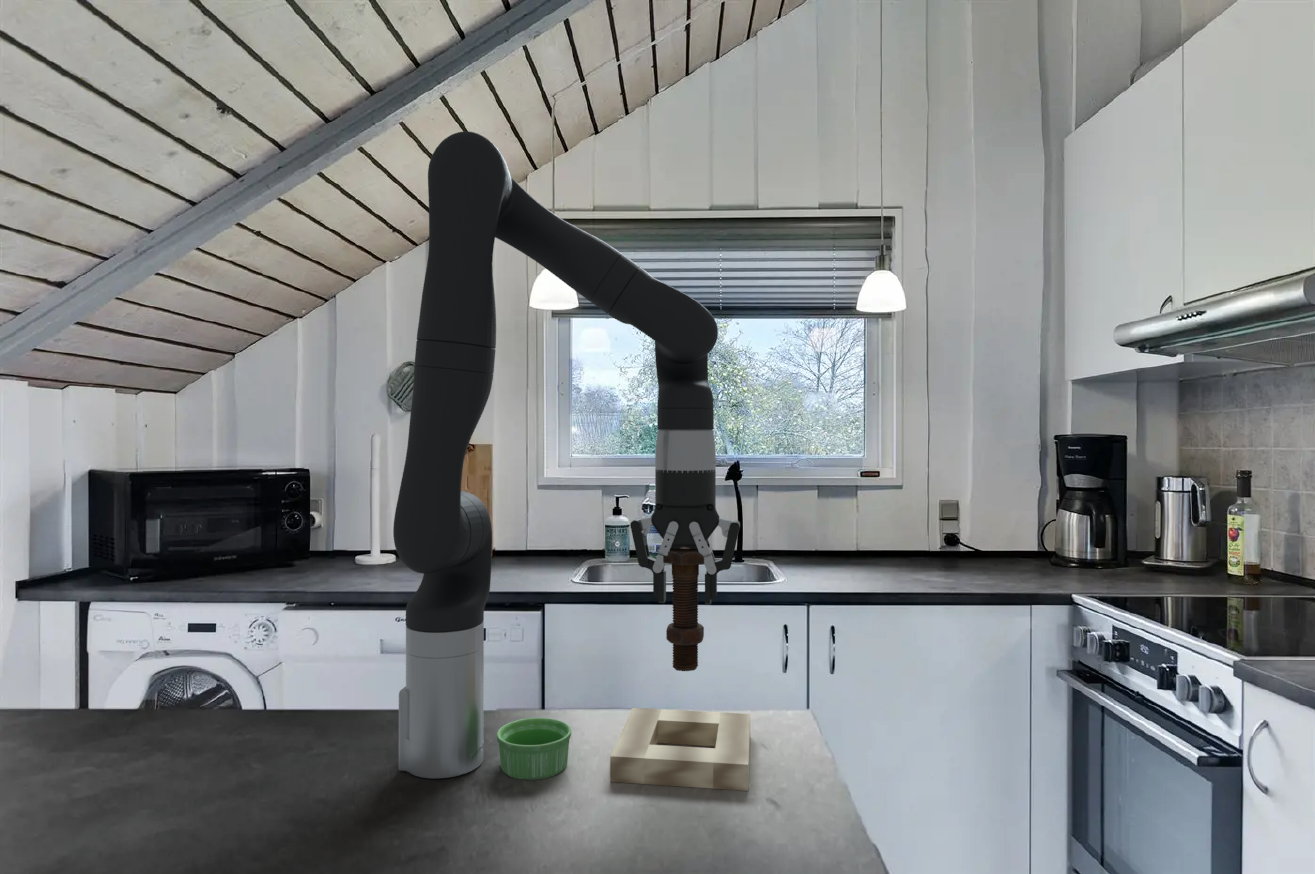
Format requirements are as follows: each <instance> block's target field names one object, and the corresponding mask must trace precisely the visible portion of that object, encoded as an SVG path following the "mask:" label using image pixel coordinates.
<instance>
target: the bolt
mask: <svg viewBox="0 0 1315 874" xmlns="http://www.w3.org/2000/svg"><path fill="white" fill-rule="evenodd" d="M663 563H666V564H669V565H670V564H671V576H672V578H671V579H672V583H671V584H672V622H671V623H668V625H667V628H666V634H665V635H666V637H665V638H666V640H667V641H668V643H671V644H672V668H673V669H674V670H675V671H679V672H691V671H692V672H693V671H695V670H696V669H697V668H698V666H699V662H698V661H699V659H698V658H699V646H698V645H699V644H700V643H702V642H703V640H704V638H705V637H704V636H705V633H704V632H705V627H704V626H703V625H702V624H701V623H699V608H698V607H699V600H698V599H699V592H698V591H699V575H700V565H704V556H703V555H702V554H701V553H699V551H698V548H697V549H690V548H687V547H682V548H670V551H669V552H668V555H667V556H663Z"/></svg>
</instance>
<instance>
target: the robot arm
mask: <svg viewBox="0 0 1315 874" xmlns="http://www.w3.org/2000/svg"><path fill="white" fill-rule="evenodd" d="M430 157H431V158H430V160H429V162H428V163H429V164H428V169H427V186H428V188H427V190H428V192H427V193H428V254H427V260H426V261H427V264H426V270H425V273H424V274H425V275H424V281H423V287H422V293H421V302H420V309H419V316H418V318H419V319H418V326H417V330H416V331H417V333H416V342H415V343H416V345H415V355H414V367H413V383H412V384H413V385H412V397H411V406H410V416H409V417H410V418H409V427H408V438H407V447H406V448H407V449H406V453H405V454H406V455H405V461H404V466H403V472H402V477H401V482H400V487H399V490H398V496H397V502H396V507H395V511H394V512H395V513H394V518H393V528H392V529H393V531H392V532H393V543H394V547H395V551H396V553H397V556H398V557H399V558H400V560H401V562H402V563H403V564H404V565H405V566H406V568H408V569H410V570H411V571H413V572H415V573H417V574H418V573H419V574H422V575H423V576H422V579H421V581H420V585H419V586H418V588H417V590H416V591H415V593H414V594H413V596H412V597H410V599H409V600H408V602H407V604H406V606H405V686H404V687H403V688H401V689H400V690H399V692H398V771H403V772H407V773H409V774H410V775H413V776H416V777H419V778H425V779H447V778H454V777H457V776H461V775H466V774H467V773H469V772H473V771H474V770H475V769H478V768H479V767H480V765H482V763H483V761H484V746H485V744H484V743H485V742H484V741H485V740H484V692H485V691H484V690H485V689H484V687H485V686H484V680H485V679H484V677H485V675H484V670H485V669H484V665H485V663H484V660H485V659H484V658H485V657H484V656H485V654H484V653H485V652H484V649H485V647H484V646H485V645H484V641H485V638H484V635H485V634H484V633H485V631H484V626H485V625H484V624H485V622H484V617H485V615H484V614H485V607H486V605H487V601H488V599H489V597H490V596H489V595H490V590H491V582H492V581H491V579H492V576H491V575H492V554H493V527H492V522H491V517H490V513H489V511H488V509H487V507H486V505H485V504H484V503H483V501H482V500H481V499H480V498H479V497H478V496H476V495H475V494H472V493H471V492H468V491H464V490H462V480H463V470H464V469H463V468H464V463H465V462H464V461H465V459H466V458H465V457H466V454H467V451H468V448H469V447H468V446H469V444H470V442H471V439H472V436H473V434H474V432H475V429H476V428H477V426H478V423H479V422H480V420H481V417H482V415H483V413H484V411H485V408H486V405H487V403H488V401H489V398H490V395H491V391H492V387H493V386H492V385H493V380H494V371H495V359H496V348H497V311H496V310H497V309H496V297H495V283H494V272H493V261H494V260H493V257H494V256H493V255H494V248H495V239H497V240H499V241H502V242H503V243H505V244H507V245H509V246H511V247H512V248H513V249H516V250H517V251H519V252H521V253H523V254H524V255H526V256H527V257H528V258H530V259H532V260H533V261H534V262H536V263H537V264H539V265H540V266H541V267H543V268H545V270H547V271H549V272H550V273H551V274H552V275H554V276H555V277H557V278H558V279H559V280H560V281H562V282H564V284H566V285H567V286H568V287H570V288H571V289H572V290H574V291H575V292H576V293H578V294H580V295H581V297H584V299H586V300H587V301H588V302H591V304H593V305H594V306H595V307H597V308H599V309H600V310H602V311H603V312H604V313H606V314H608V316H610V317H611V318H613V319H615V320H617V321H618V322H620V323H622V324H625V325H631V326H632V327H634V328H636V329H637V330H638V331H640V332H642V333H643V335H646V336H647V337H648V338H650V339H652V340H653V341H654V354H655V355H654V357H655V366H656V369H655V370H656V378H657V384H658V393H657V395H658V396H657V432H656V440H655V441H656V442H655V455H654V457H655V462H654V463H655V465H654V466H655V467H654V469H655V470H654V471H655V480H654V483H655V485H654V486H655V487H654V488H655V491H654V492H655V493H654V496H655V498H654V499H655V501H654V502H655V503H654V504H655V505H654V506H655V507H654V511H653V513H652V515H651V516H649V517H645V518H639V517H637V518H635V519H633V520H632V521H631V522H630V525H629V526H630V529H631V530H630V531H631V534H632V540H633V544H634V545H633V546H634V549H635V553H636V558H637V563H638V566H640V568H646V569H648V570H649V571H651V573H652V576H653V578H652V580H653V581H652V585H653V586H652V587H653V589H652V590H653V591H652V593H653V597H654V599H657V600H658V601H657V602H658V603H659V604H660V603H661V604H665V603H666V600H667V571H666V570H665V566H666V564H667V563H663V556H667V555H668V552H669V551H670V548H682V547H687V548H690V549H697V548H698V551H699V553H701V554H702V555H703V556H704V564H703V565H704V568H705V570H706V572H705V573H704V604H705V605H711V604H712V601H713V600H714V601H715V600H716V597H717V594H718V573H719V572H722V571H725V570H726V571H727V570H729V569H730V568H731V567H732V563H733V558H734V554H735V550H736V546H737V542H738V537H739V533H740V532H739V531H740V528H741V522H740V521H739V520H737V519H733V520H731V519H726V518H722V517H720V516H719V514H718V511H717V507H716V495H717V494H716V493H717V492H716V491H717V490H716V488H717V487H716V475H717V474H716V473H717V472H716V470H717V469H716V466H717V457H716V452H717V451H716V441H715V433H714V432H715V430H714V429H715V428H714V426H715V425H714V424H715V423H714V419H715V417H714V416H715V415H714V414H715V413H714V411H715V410H714V395H713V391H712V388H711V387H710V384H709V365H708V364H709V361H708V360H709V357H708V356H709V353H711V351H712V350H714V347H715V345H716V344H717V343H716V342H717V341H718V335H719V329H718V325H717V321H716V319H715V317H714V315H713V314H712V313H711V312H710V311H709V309H707V307H705V306H704V305H702V304H701V303H700V302H699V301H698V300H696V299H694V298H692V296H689V295H688V294H686V293H684V292H683V291H680V290H679V289H677V288H675V287H673V286H671V285H670V284H667V283H666V282H663V281H661V280H659V279H657V278H655V277H654V276H652V275H651V274H650V273H649V272H648V271H646V270H645V269H643V268H642V267H641V266H640V265H639V264H637V263H636V262H635V261H633V260H632V259H630V258H629V257H628V256H626V255H625V254H623V253H621V252H620V251H619V250H617V249H616V248H615V247H613V246H611V245H610V244H608V243H607V242H605V241H604V240H602V239H600V238H598V236H595V235H592V234H591V233H589V232H587V231H585V230H583V229H581V228H579V227H577V226H576V225H574V224H571V223H570V222H568V221H566V220H564V219H562V218H561V217H559V216H558V215H556V214H555V213H553V212H552V211H550V210H549V209H548V208H546V207H545V206H543V205H542V204H541V203H539V202H538V201H537V200H536V199H535V198H534V197H532V196H531V194H530V193H528V192H527V191H526V190H525V189H524V188H523V187H522V186H521V185H520V184H519V183H518V182H517V181H516V180H515V179H514V178H513V177H512V175H511V173H510V170H509V168H508V164H507V161H506V160H505V157H504V156H503V154H502V153H501V152H500V149H499V148H498V147H497V146H496V145H495V144H494V143H493V142H492V141H491V140H489V139H488V138H487V137H485V136H483V135H481V134H479V133H476V132H474V131H459V132H455V133H452V134H450V135H449V136H447V137H446V138H444V139H443V140H442V141H441V142H440V143H439V144H438V145H437V147H436V148H435V150H434V151H433V153H432V155H431V156H430ZM651 526H653V527H654V529H655V530H656V532H657V533H658V534H659V536H660V537H661V538H662V542H661V545H660V547H659V549H658V552H657V555H656V557H655V558H654V557H652V556H651V555H650V554H651V553H650V550H649V545H648V541H647V536H648V534H649V533H650V531H651V530H650V528H651ZM718 527H719V528H721V534H722V536H723V537H724V538H726V542H725V545H724V551H723V554H722V555H723V556H722V558H719V559H716V558H715V555H714V552H713V549H712V546H711V543H710V540H709V538H710V537H711V535H712V534H713V533H714V532H715V530H716V529H717V528H718Z"/></svg>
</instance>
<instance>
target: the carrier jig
mask: <svg viewBox="0 0 1315 874" xmlns="http://www.w3.org/2000/svg"><path fill="white" fill-rule="evenodd" d="M662 744H666V745H662ZM667 744H672V745H667ZM678 745H679V746H678ZM680 745H682V746H680ZM683 745H685V746H683ZM694 746H695V747H694ZM697 746H703V747H697ZM705 746H706V747H705ZM710 747H711V748H710ZM712 747H714V748H712ZM750 752H751V713H741V712H740V713H737V712H723V711H722V712H719V711H718V712H717V711H703V710H702V711H700V710H683V709H681V710H679V709H665V708H664V709H662V708H646V707H645V708H644V707H643V708H641V707H632V708H631V709H630V712H629V715H628V717H627V719H626V721H625V723H624V725H623V728H622V729H621V732H620V734H619V736H618V738H617V739H616V743H615V745H614V747H613V749H612V751H611V754H610V757H609V759H610V760H609V782H611V783H622V784H623V783H625V784H636V785H638V784H639V785H641V784H642V785H653V786H668V787H670V786H671V787H684V788H685V787H686V788H699V789H714V790H715V789H717V790H728V791H745V792H746V791H747V792H748V791H749V781H750V780H749V779H750V778H749V777H750V754H751V753H750Z"/></svg>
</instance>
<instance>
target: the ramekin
mask: <svg viewBox="0 0 1315 874" xmlns="http://www.w3.org/2000/svg"><path fill="white" fill-rule="evenodd" d="M571 737H572V727H571V726H570V725H569V724H568V723H566V722H564V721H563V720H559V719H556V718H550V717H529V718H521V719H517V720H515V721H514V720H513V721H511V722H508V723H506V724H504V725H503V726H501V727H500V728H499V729H498V730H497V732H496V739H497V743H498V748H499V749H498V750H499V761H500V769H502V771H503V773H504V774H505V775H507V777H511V778H513V779H517V780H525V781H526V780H527V781H530V780H531V781H532V780H541V779H546V778H550V777H553V776H556V775H558V774H559V773H561V772H563V770H564V769H565V768H566V767H567V765H568V761H569V760H568V759H569V750H570V749H569V745H570V739H571Z"/></svg>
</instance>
